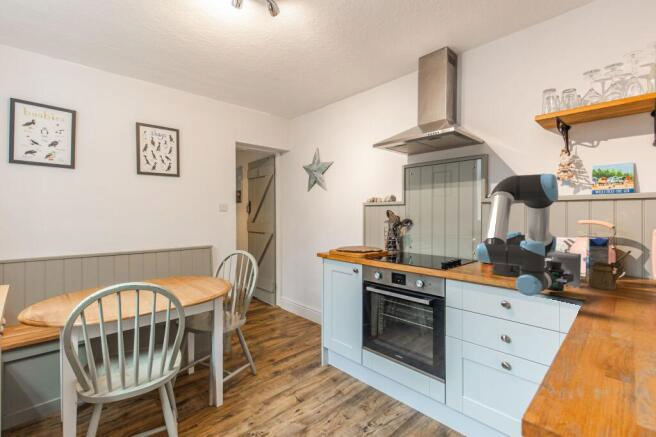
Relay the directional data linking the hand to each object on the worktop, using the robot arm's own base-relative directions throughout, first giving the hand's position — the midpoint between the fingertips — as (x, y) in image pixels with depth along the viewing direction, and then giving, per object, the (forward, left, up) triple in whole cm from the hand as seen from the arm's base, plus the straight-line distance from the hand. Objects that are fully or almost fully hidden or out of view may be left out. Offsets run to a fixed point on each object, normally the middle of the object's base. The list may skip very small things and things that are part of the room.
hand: (557, 272), depth 131 cm
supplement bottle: (0, -5, -7) cm, 8 cm away
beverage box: (+7, +35, -8) cm, 37 cm away
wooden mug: (+13, +25, -8) cm, 29 cm away
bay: (0, +10, -8) cm, 13 cm away
